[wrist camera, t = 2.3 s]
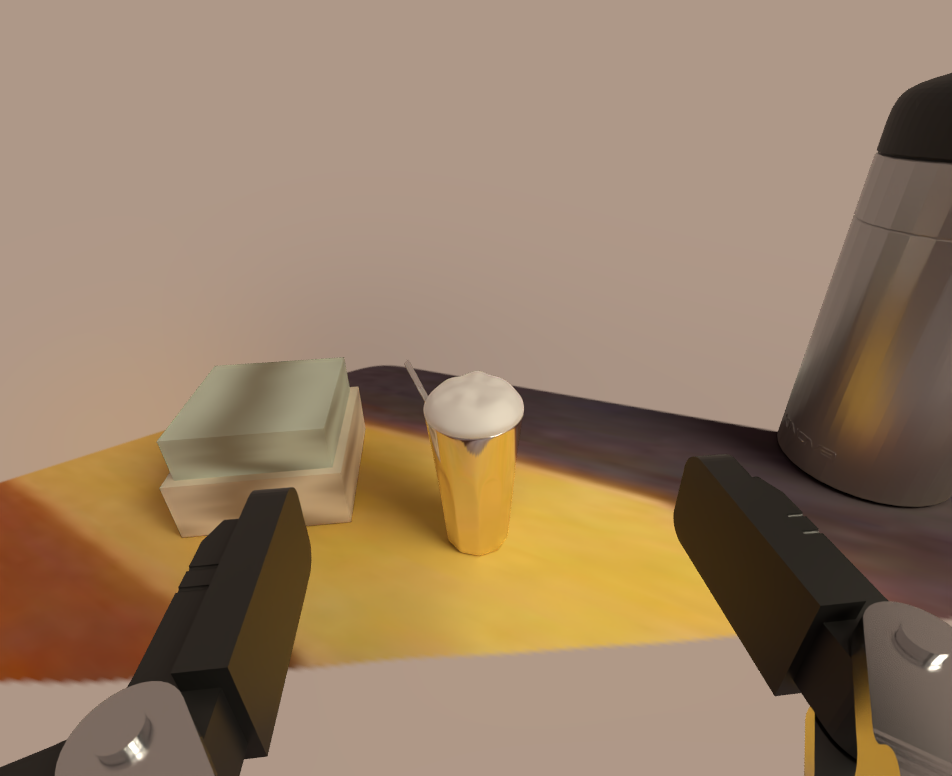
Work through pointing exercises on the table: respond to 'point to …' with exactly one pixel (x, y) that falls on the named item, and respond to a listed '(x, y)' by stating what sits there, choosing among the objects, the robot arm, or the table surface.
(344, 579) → the table surface
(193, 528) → the tower base
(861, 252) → the robot arm
